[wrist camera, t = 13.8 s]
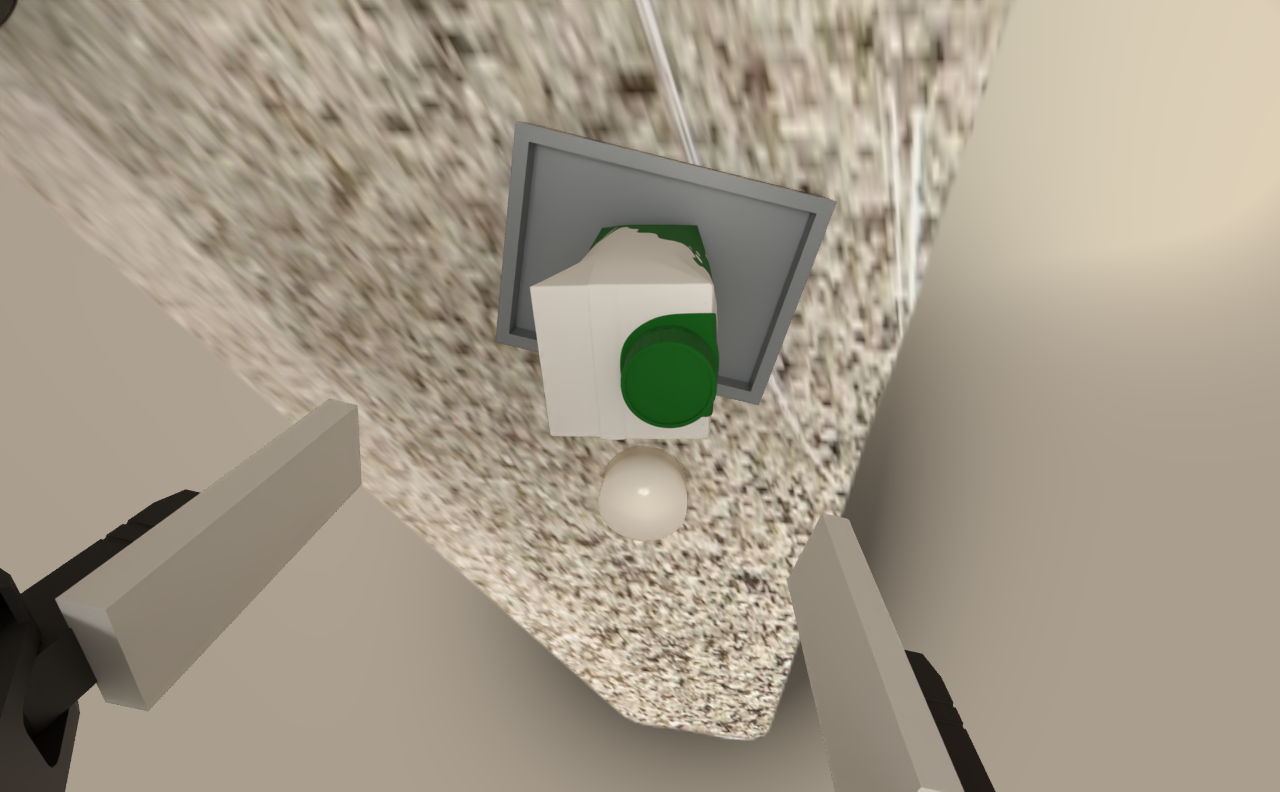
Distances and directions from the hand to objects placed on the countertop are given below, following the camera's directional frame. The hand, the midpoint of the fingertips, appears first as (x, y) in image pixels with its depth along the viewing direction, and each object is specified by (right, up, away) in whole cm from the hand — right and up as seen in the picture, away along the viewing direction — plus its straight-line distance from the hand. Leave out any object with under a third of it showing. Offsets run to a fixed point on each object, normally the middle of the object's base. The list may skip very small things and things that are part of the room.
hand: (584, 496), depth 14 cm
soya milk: (+2, +12, +24) cm, 28 cm away
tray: (+3, +13, +25) cm, 28 cm away
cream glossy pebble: (+2, -5, +34) cm, 35 cm away
